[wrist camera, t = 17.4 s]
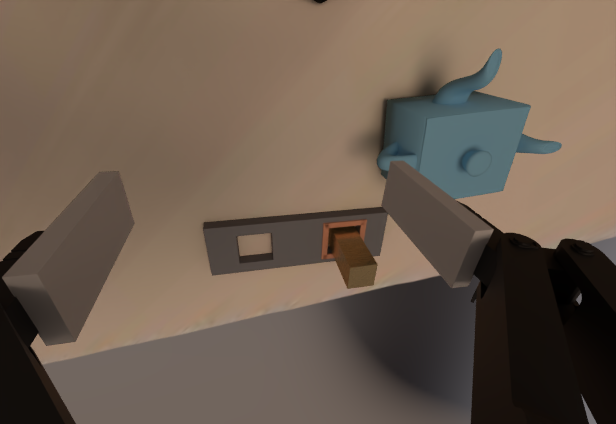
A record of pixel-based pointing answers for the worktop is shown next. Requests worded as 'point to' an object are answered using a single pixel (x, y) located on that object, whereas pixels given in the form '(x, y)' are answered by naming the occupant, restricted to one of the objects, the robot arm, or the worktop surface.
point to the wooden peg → (352, 257)
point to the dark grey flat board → (289, 238)
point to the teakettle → (460, 135)
